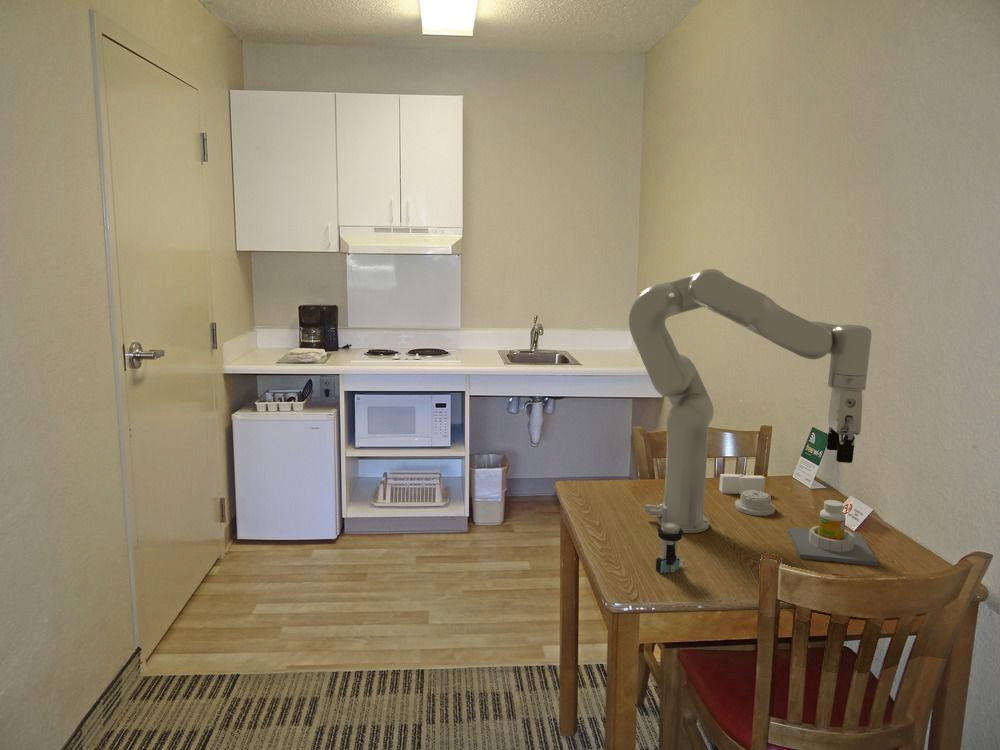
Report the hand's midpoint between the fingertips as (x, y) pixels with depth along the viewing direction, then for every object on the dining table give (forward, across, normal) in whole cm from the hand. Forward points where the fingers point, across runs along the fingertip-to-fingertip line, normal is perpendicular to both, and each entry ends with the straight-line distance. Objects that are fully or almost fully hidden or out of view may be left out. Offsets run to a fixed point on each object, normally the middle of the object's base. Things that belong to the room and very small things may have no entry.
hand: (838, 455), depth 162 cm
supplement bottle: (+21, 0, 0) cm, 21 cm away
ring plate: (+22, 0, 0) cm, 22 cm away
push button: (+22, -21, +36) cm, 47 cm away
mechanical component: (+22, +22, +14) cm, 34 cm away
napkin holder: (+23, +35, +16) cm, 45 cm away
